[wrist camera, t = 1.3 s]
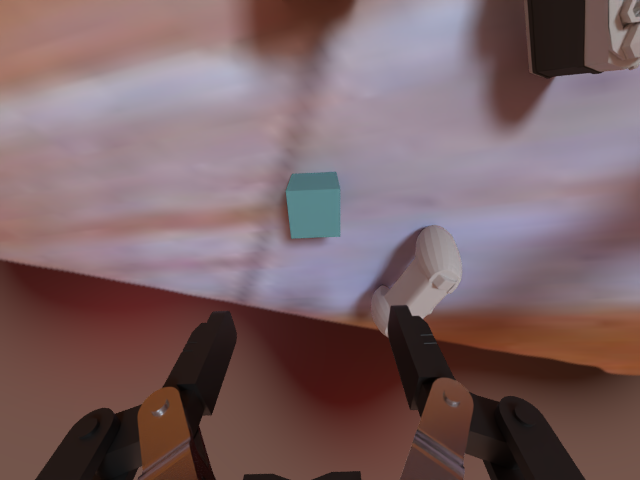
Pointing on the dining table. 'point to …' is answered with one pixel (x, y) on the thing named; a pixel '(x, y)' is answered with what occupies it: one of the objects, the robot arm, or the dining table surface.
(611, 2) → the camera
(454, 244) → the game controller
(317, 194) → the teal block
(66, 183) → the dining table surface
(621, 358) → the dining table surface
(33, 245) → the dining table surface
